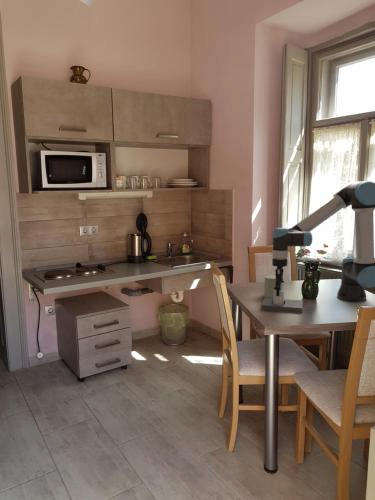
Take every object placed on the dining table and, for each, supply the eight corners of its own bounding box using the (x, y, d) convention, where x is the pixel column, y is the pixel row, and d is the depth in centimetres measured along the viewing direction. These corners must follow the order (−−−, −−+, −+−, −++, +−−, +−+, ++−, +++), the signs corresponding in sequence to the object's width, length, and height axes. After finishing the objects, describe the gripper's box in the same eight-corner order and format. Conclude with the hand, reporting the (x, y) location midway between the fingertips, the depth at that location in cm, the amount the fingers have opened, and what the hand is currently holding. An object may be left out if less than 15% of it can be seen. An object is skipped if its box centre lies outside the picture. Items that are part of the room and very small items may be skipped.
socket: (302, 305, 210) (302, 300, 210) (302, 313, 197) (302, 308, 197) (264, 302, 216) (264, 297, 216) (261, 309, 203) (261, 305, 203)
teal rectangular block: (283, 305, 208) (283, 290, 207) (282, 307, 205) (283, 292, 203) (273, 304, 210) (274, 289, 209) (273, 306, 206) (273, 291, 205)
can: (280, 299, 222) (281, 278, 220) (263, 298, 224) (264, 277, 222) (280, 294, 231) (280, 274, 229) (264, 294, 233) (264, 274, 231)
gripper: (274, 253, 216) (273, 291, 219) (270, 262, 193) (269, 304, 196) (288, 254, 214) (287, 292, 217) (286, 262, 190) (284, 305, 194)
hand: (278, 298), depth 207 cm, fingers open, 13 cm apart
